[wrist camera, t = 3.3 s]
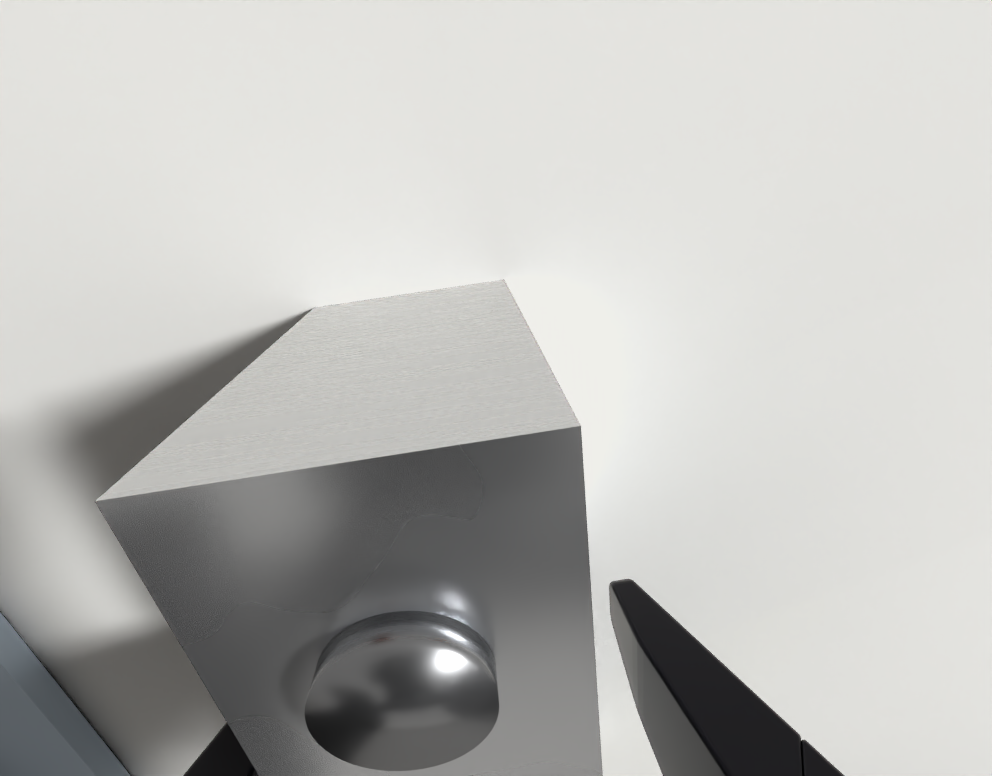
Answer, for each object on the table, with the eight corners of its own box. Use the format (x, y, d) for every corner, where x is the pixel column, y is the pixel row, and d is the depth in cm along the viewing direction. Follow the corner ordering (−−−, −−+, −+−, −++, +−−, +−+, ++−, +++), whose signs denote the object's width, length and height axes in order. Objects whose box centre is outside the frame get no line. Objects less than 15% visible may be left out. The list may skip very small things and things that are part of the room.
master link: (558, 729, 12) (625, 1080, 8) (446, 748, 12) (441, 1115, 7) (503, 278, 7) (595, 450, 3) (316, 305, 7) (54, 535, 3)
